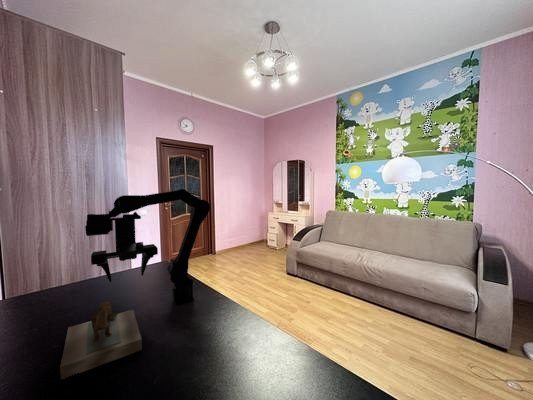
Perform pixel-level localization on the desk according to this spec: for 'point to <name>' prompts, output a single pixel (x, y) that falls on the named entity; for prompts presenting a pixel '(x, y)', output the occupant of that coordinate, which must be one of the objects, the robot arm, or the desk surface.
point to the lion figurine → (103, 320)
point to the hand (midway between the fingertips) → (126, 278)
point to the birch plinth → (99, 344)
